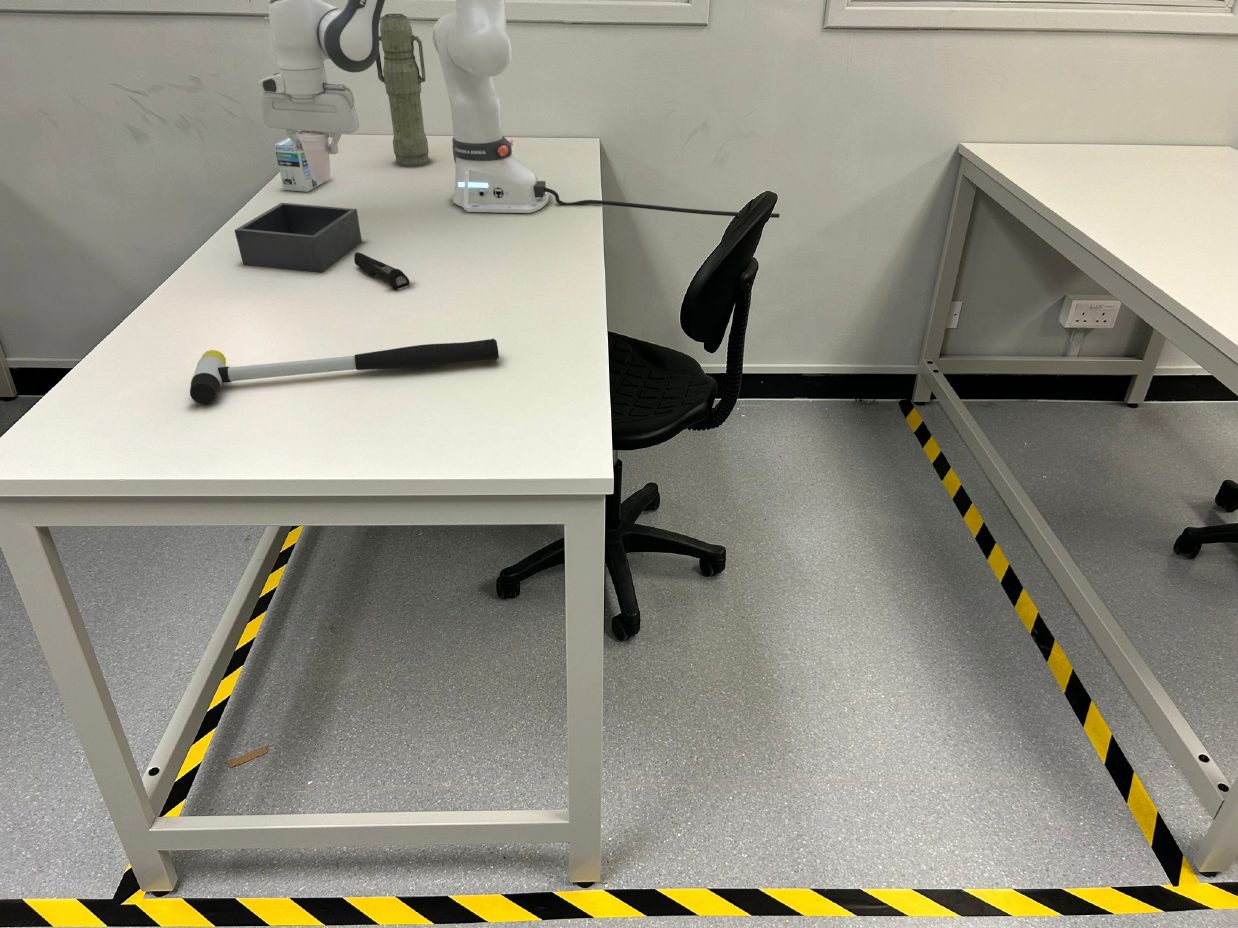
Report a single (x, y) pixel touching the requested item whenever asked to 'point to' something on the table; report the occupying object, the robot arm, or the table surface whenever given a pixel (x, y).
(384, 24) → the thermos
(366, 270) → the electric trimmer
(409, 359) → the hammer
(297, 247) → the basin
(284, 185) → the light bulb box
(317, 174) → the smoothie
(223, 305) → the table surface
